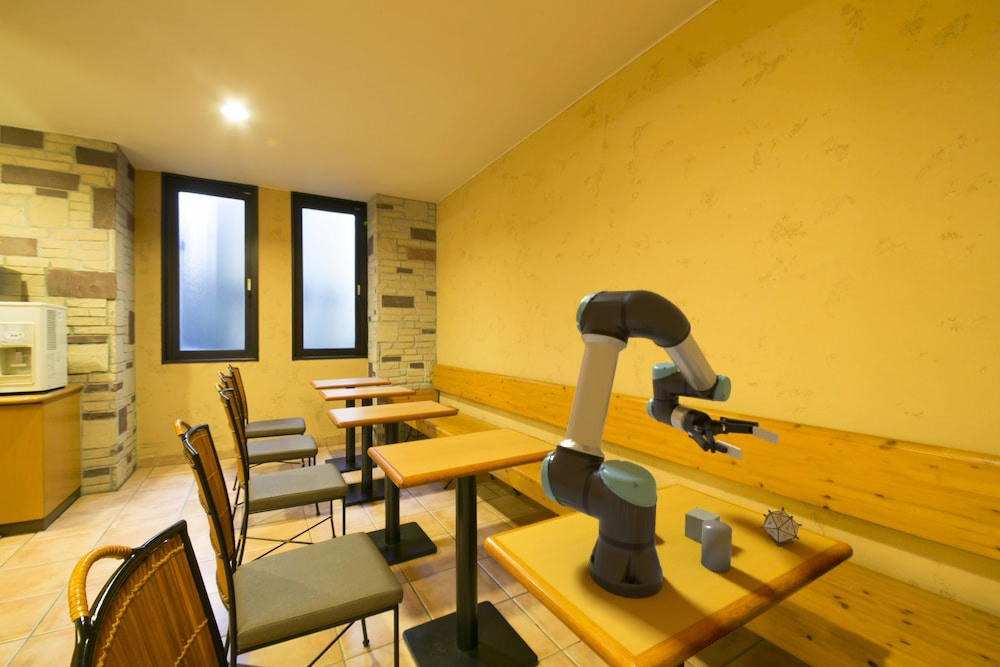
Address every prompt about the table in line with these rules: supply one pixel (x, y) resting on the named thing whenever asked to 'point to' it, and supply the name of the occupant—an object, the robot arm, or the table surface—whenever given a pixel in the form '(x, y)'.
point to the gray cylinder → (716, 546)
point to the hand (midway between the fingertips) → (759, 446)
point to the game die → (781, 526)
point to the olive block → (697, 522)
